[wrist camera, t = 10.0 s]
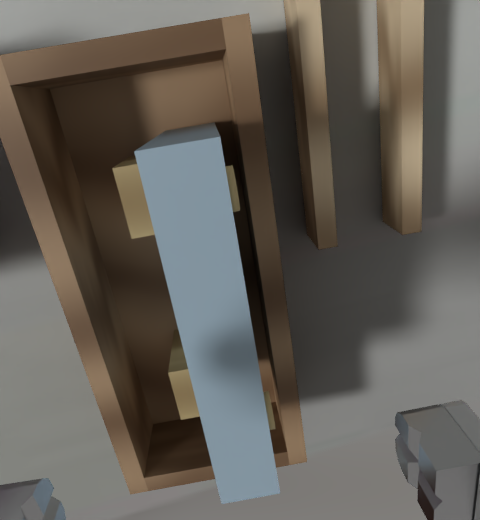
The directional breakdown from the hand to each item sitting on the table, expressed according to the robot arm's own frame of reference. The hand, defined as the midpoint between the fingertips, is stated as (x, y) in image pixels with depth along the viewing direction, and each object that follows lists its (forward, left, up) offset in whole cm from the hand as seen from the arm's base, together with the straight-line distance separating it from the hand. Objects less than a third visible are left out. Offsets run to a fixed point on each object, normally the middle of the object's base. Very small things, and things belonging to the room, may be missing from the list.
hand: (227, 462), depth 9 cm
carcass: (+1, -2, -15) cm, 15 cm away
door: (0, 0, -14) cm, 14 cm away
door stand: (-7, +8, -15) cm, 18 cm away
